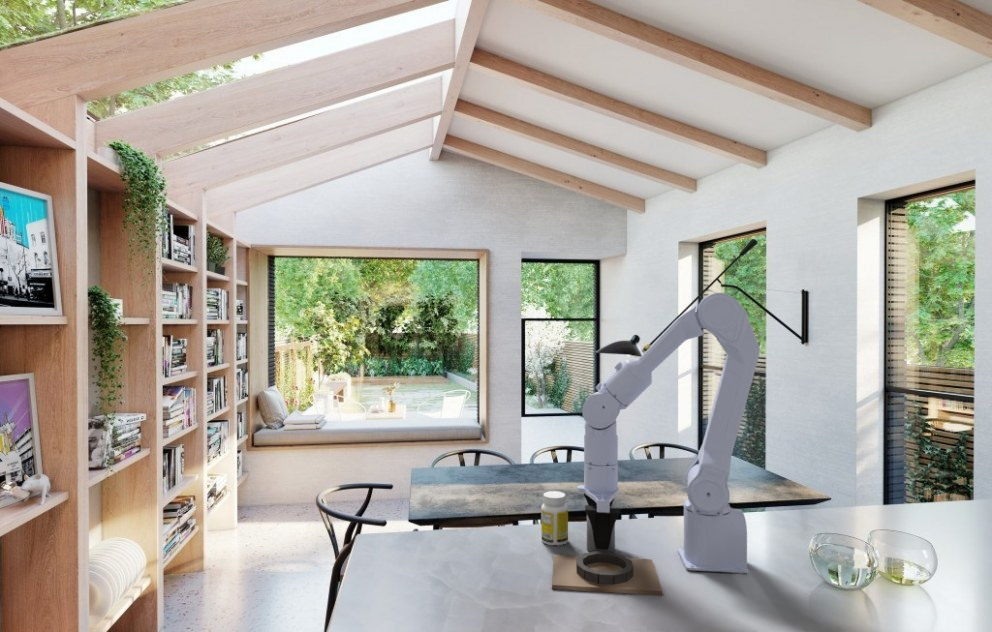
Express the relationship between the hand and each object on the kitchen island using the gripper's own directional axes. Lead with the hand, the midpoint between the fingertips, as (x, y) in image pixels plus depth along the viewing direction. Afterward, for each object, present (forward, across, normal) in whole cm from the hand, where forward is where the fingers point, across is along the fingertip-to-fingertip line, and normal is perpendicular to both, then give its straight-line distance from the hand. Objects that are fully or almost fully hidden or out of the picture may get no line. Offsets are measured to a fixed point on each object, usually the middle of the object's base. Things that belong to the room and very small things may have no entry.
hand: (600, 540), depth 102 cm
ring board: (+2, +10, 0) cm, 10 cm away
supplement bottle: (+2, -3, -8) cm, 9 cm away
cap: (+2, 0, 0) cm, 2 cm away
